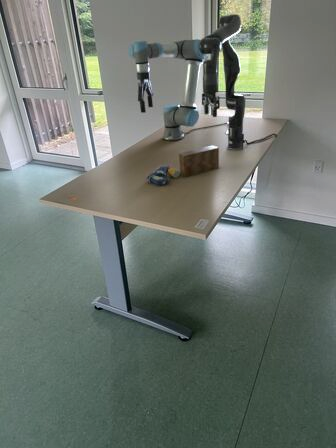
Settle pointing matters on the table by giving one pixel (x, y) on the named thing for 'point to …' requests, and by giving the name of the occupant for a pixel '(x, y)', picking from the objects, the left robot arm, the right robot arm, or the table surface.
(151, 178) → the blue yellow printed carton
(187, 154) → the box
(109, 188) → the table surface
